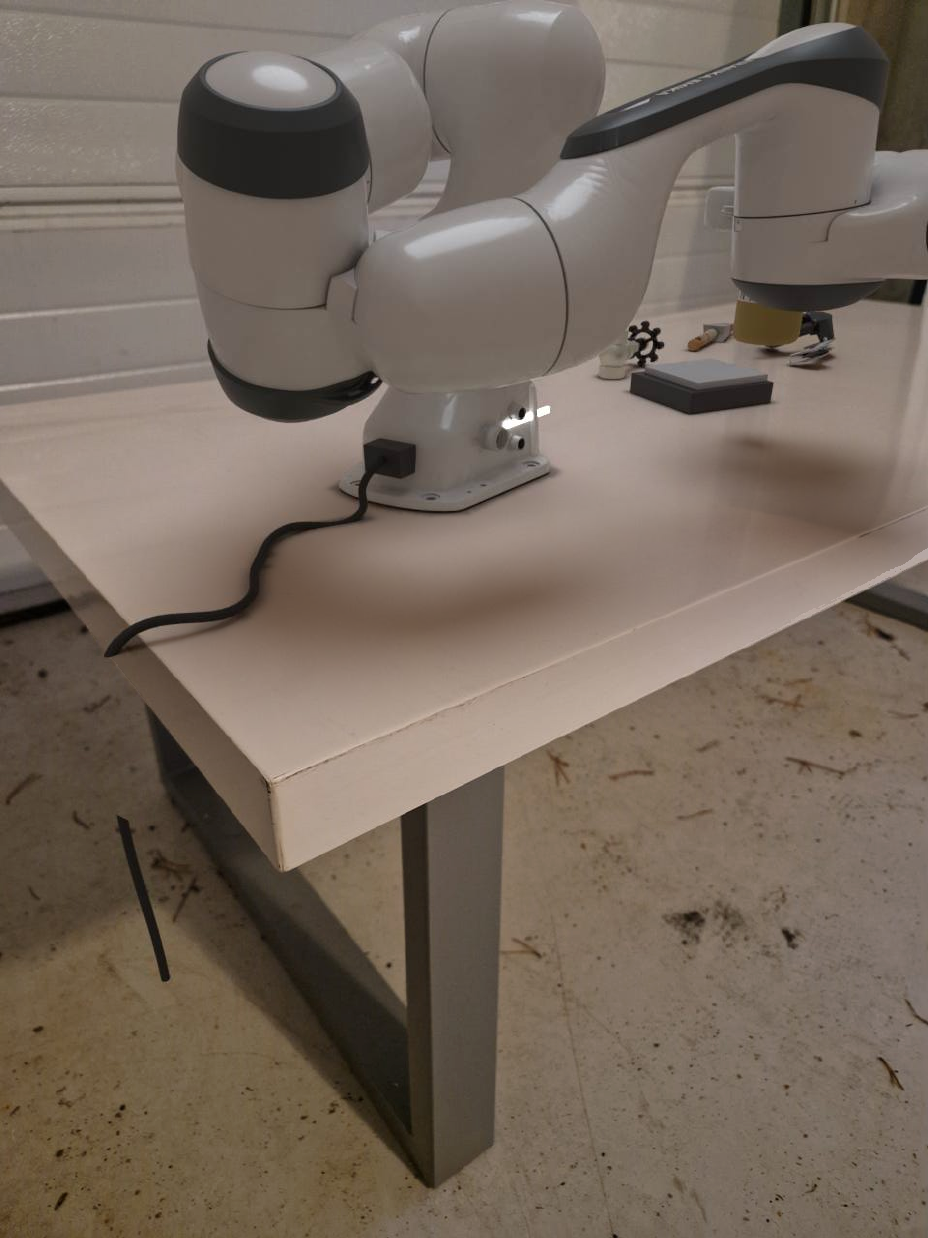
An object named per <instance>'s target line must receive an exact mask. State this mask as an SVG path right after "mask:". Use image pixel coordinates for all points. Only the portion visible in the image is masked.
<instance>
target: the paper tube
mask: <svg viewBox="0 0 928 1238" xmlns="http://www.w3.org/2000/svg"><path fill="white" fill-rule="evenodd" d="M737 289H738V288H737ZM803 314H804V312H793V311H784V310H778V309H773V308H768V307H764V306H761V305H759V304H757V303H756V302H754V301H753V300H751V299H750V298H749V297H747V296H746V295H745V294H743V293H742V292H741V291H740V290H739V289H738V290H737V296H736V304H735V311H734V319H733V324H734V326H733V331H732V337H733V339H735V341H737V342H739V343H744V344H748V345H755V346H764V345H767V346H774V345H783V346H786V345H790V344H794V343H795V342H797V340H798V339H799V338H800V337H799V334H800V328H801V323H802V317H803Z"/></svg>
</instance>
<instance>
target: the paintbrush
mask: <svg viewBox="0 0 928 1238" xmlns="http://www.w3.org/2000/svg"><path fill="white" fill-rule="evenodd" d="M702 325H703V326H702V327H703V329H702V330H703V332H702V333H701V334H699V335H698V336H696V337H694V338H693V339H691V340H689V341H688V342H687V349H688V350H689V351H691V352H695V351H697V350H699V349H700V348H702V347H703V346H705V345H706V344H707V343H710V342H714V343H723V342H725V340H726V339H727V338H728V337H729V335H730V334H731V333H733V326H734V322H716V323H703V324H702Z"/></svg>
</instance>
